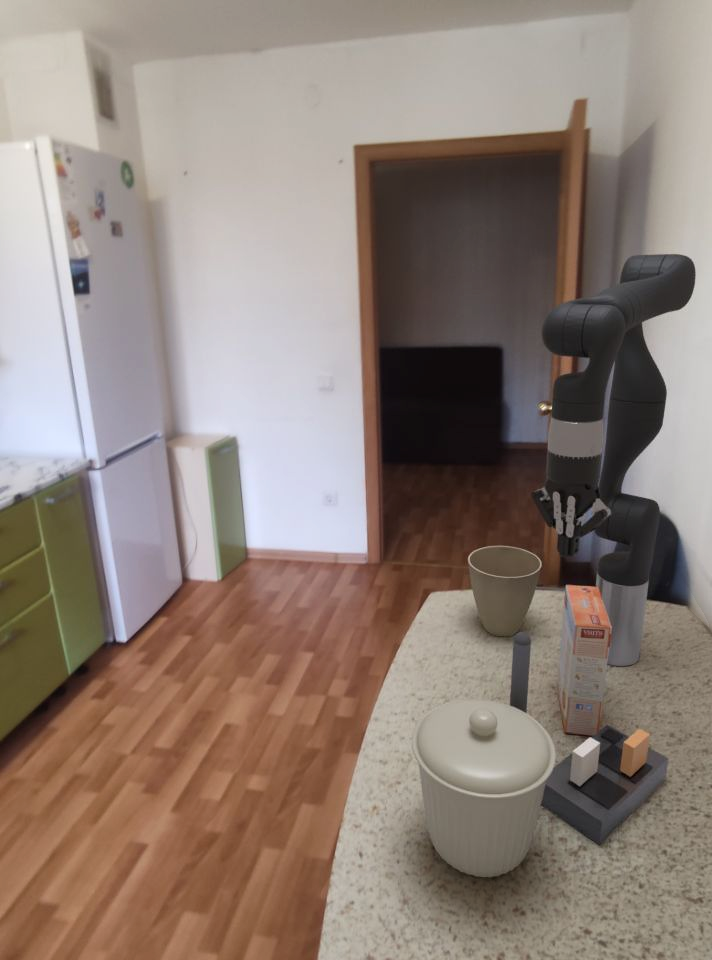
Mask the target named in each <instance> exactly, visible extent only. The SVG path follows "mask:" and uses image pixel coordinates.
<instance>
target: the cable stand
mask: <svg viewBox="0 0 712 960" xmlns="http://www.w3.org/2000/svg"><path fill="white" fill-rule="evenodd" d="M531 646H532V639H531V637H530V635H529V634H528V633H527V632H523V631H519V632H517V633H515V634H514V636H513V643H512V657H511V658H512V660H511V661H512V662H511V678H510V694H509V696H510V697H509V705H510V706H513V707H515V708H517V709H519V710H521V711H523V712H525V713H527V708H528V706H527V705H528V694H529V679H530V678H529V676H530V662H531V660H530V659H531V650H532V649H531V648H532V647H531Z"/></svg>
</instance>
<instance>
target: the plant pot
mask: <svg viewBox="0 0 712 960" xmlns="http://www.w3.org/2000/svg"><path fill="white" fill-rule="evenodd" d="M542 563H543V562H542V560H541V558H539V557H538V556H537V555H536V554H535V553H533V552H531V551H528V550H527V549H523V548H520V547H517V546H516V547H515V546H510V545H509V546H508V545H491V546H489V545H488V546H484V547H481V548H480V547H479V548H478V549H475V550H473V551H472V552H470V553H469V555H468V557H467V564H468V571H469V579H470V585H471V589H472V590H471V591H472V593H473V594H472V595H473V598H474V602H475V606H476V609H477V613H478V614H479V618H480V621H481V623H482V626H483V628H484V630H485V631H486V632H488V634H491V635H494V636H498V637H511V636H513V635H514V636H515V635H516V634H517V633H519V632H518V631H519V630H520V628H521V626H522V624H523V623H524V620H525V618H526V616H527V614H528V611H529V609H530V606H531V604H532V601H533V598H534V596H535V592H536V589H537V586H538V581H539V578H540V573H541V571H542V570H541V569H542Z"/></svg>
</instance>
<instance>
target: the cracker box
mask: <svg viewBox="0 0 712 960" xmlns="http://www.w3.org/2000/svg"><path fill="white" fill-rule="evenodd" d="M564 588H565V589H564V599H563V600H564V601H563V602H564V603H563V612H562V613H563V614H562V625H561V635H560V636H561V637H560V644H559V645H560V646H559V657H558V665H557V679H556V688H557V693H558V695H557V697H558V701H559V708H560V713H561V720H562V727H563V733H564V734H572V735H578V736H579V735H581V736H589V737H593V736H594V735H595V734H596V733H598V732H599V731H600V728H601V727H600V725H601V719H602V710H603V702H604V694H605V686H606V678H607V668H608V664H607V661H608V654H609V646H610V638H611V630H612V627H611V624H610V621H609V618H608V615H607V612H606V609H605V606H604V603H603V600H602V596H601V593H600V590H599V588H598V587H596V586H591V585H575V584H574V585H573V584H566V585H565V587H564Z"/></svg>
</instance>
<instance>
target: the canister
mask: <svg viewBox="0 0 712 960" xmlns="http://www.w3.org/2000/svg"><path fill="white" fill-rule="evenodd" d="M411 748H412V753H413V755H414V759H415V761H417V764H418V768H419V769H418V771H419V777H420V785H421V786H420V787H421V795H422V801H423V808H424V809H423V810H424V814H425V820H426V827H427V832H428V835H429V837H430V841H431V844H432V845H433V846H434V849H435V851H436V852H437V854H439V855H440V857H441V859H442V860H444V861H445V862H446V864H447V865H450V866H451V867H452V868H453V869H456V870H458V871H459V872H460V873H464V874H466V875H468V876H474V877H479V878H480V877H481V878H487V877H488V878H493V877H499V876H501V875H506V874H508V872H511V871H513V870H514V869H515V868H517V867H518V866H520V864H521V862H522V861H524V859H525V858H526V857H527V853H528V852H529V850H530V849H531V848H530V847H531V844H532V841H533V837H534V834H535V830H536V826H537V823H538V819H539V816H540V815H539V814H540V810H541V806H542V805H541V802H542V797H543V793H544V789H545V784H546V780H547V779H548V778H549V776H550V775H551V773H552V771H553V769H554V767H555V765H556V758H557V755H556V749H555V748H556V747H555V743H554V741H553V739H552V737H551V735H550V734H549V732H548V731H547V730H546V728H544V726H542V724H540V722H539V721H537V720H536V719H535V718H534V717H533V716H532V715H530V714H529V713H527V712H526V713H525V712H523V711H521V710H519V709H517V708H515V707H513V706H510V704H506V703H503V702H501V701H500V702H499V701H495V700H491V699H483V698H482V699H481V698H463V699H457V700H451V701H447V702H444V703H442V704H438V705H437V706H435V707H433V708H431V709H429V710H428V711H427V712H426V713H425V714H424V715H423V716H422V717H421V718H420V719H419V720H418V721H417V723H416V724H415V726H414V728H413V732H412V735H411Z"/></svg>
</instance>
